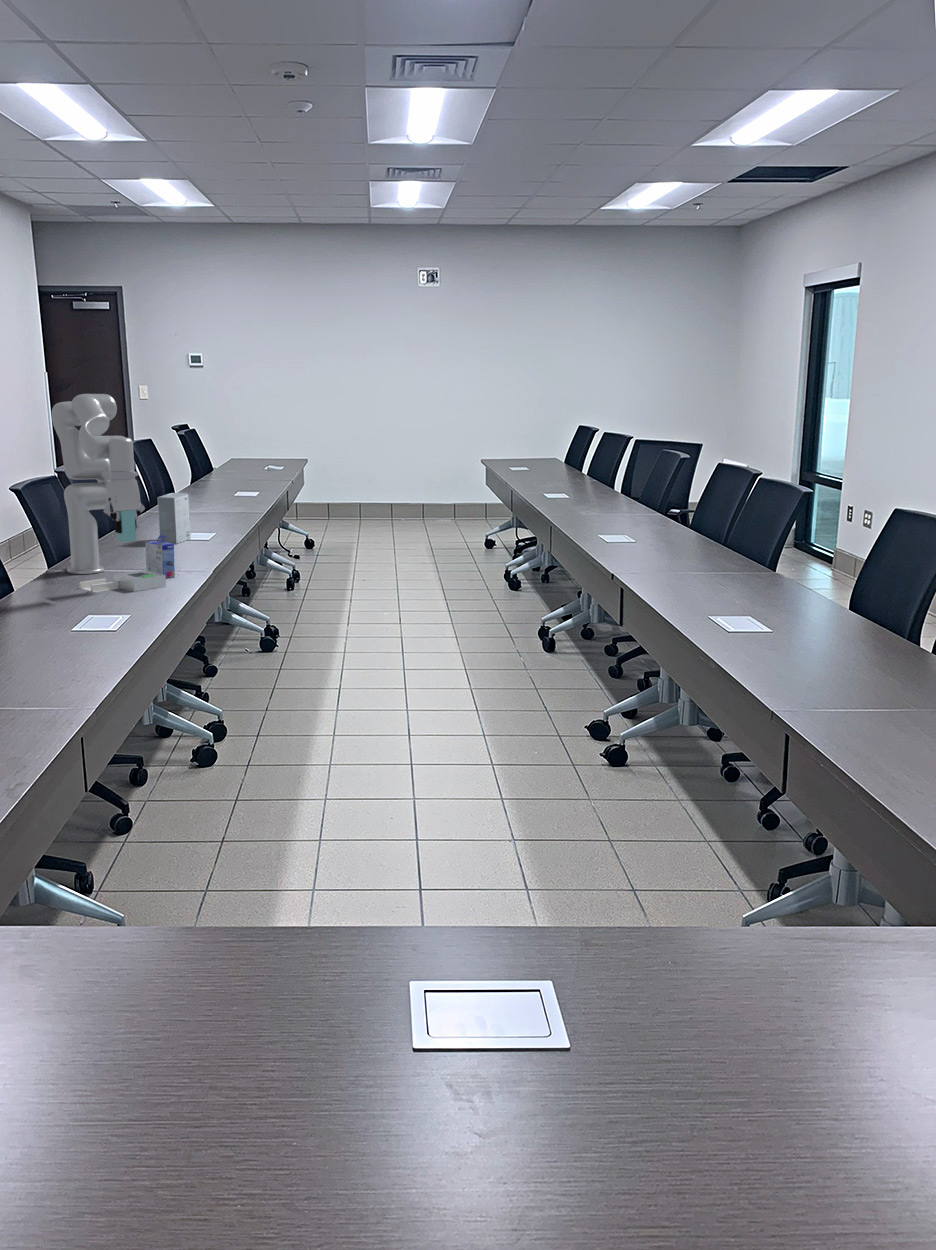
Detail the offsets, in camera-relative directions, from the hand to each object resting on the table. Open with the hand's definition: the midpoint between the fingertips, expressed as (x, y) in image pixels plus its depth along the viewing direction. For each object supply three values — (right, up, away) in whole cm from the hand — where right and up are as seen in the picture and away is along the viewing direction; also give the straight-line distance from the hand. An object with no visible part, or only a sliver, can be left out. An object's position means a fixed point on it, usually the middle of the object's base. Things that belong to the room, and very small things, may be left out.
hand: (125, 531), depth 344 cm
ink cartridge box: (+3, -14, +29) cm, 32 cm away
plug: (0, -3, 0) cm, 3 cm away
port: (+3, -19, +6) cm, 20 cm away
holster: (-10, -19, +2) cm, 22 cm away
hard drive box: (-13, +5, +105) cm, 106 cm away
